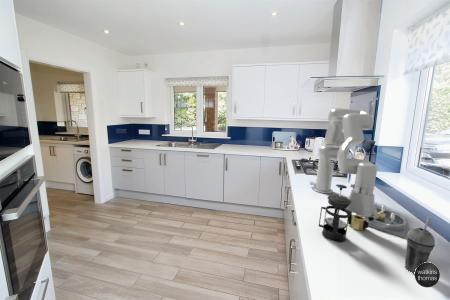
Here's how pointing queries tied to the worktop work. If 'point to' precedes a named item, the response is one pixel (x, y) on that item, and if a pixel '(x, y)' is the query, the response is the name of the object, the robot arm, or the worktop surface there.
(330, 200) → the french press
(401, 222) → the carrier
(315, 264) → the worktop surface
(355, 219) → the gear
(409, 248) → the beverage cup
